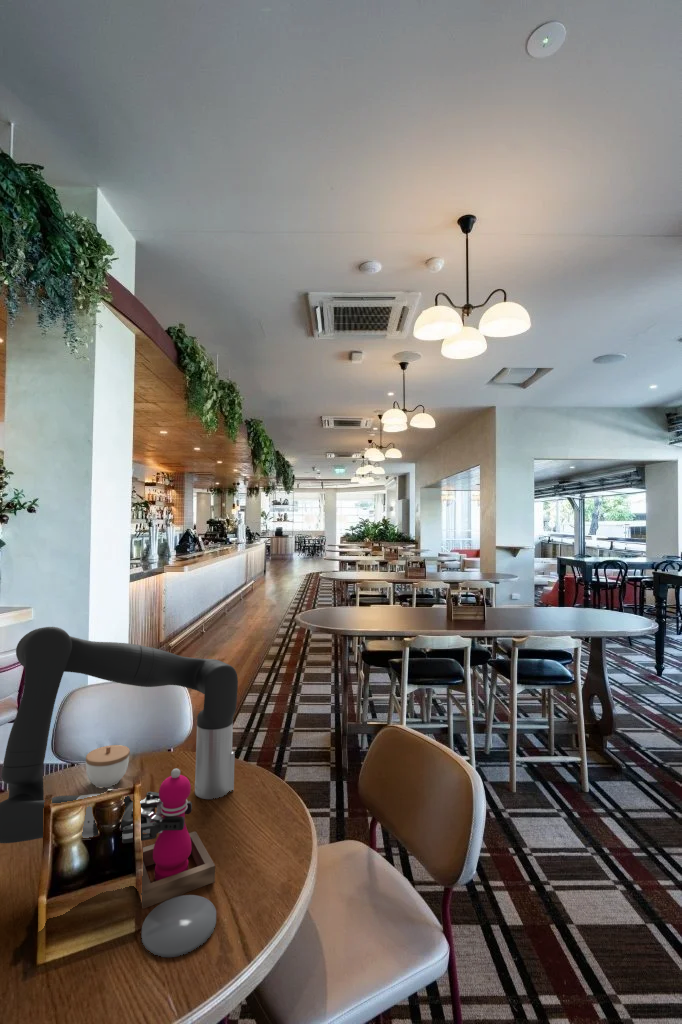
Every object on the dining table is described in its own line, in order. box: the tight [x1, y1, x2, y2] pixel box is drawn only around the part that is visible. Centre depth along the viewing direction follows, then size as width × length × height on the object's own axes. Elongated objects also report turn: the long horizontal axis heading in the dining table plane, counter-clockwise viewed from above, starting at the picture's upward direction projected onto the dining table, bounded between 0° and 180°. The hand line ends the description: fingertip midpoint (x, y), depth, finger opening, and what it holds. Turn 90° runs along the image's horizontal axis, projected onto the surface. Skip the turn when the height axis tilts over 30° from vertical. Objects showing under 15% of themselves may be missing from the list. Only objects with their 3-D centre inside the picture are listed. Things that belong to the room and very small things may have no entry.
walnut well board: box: [141, 831, 216, 910], centre depth 94 cm, size 13×13×3 cm
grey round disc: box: [140, 894, 217, 958], centre depth 81 cm, size 12×12×1 cm
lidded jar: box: [85, 744, 131, 789], centre depth 130 cm, size 11×11×9 cm
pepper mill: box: [153, 768, 192, 881], centre depth 95 cm, size 7×7×20 cm
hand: (187, 815), depth 95 cm, fingers closed on pepper mill, 4 cm apart
